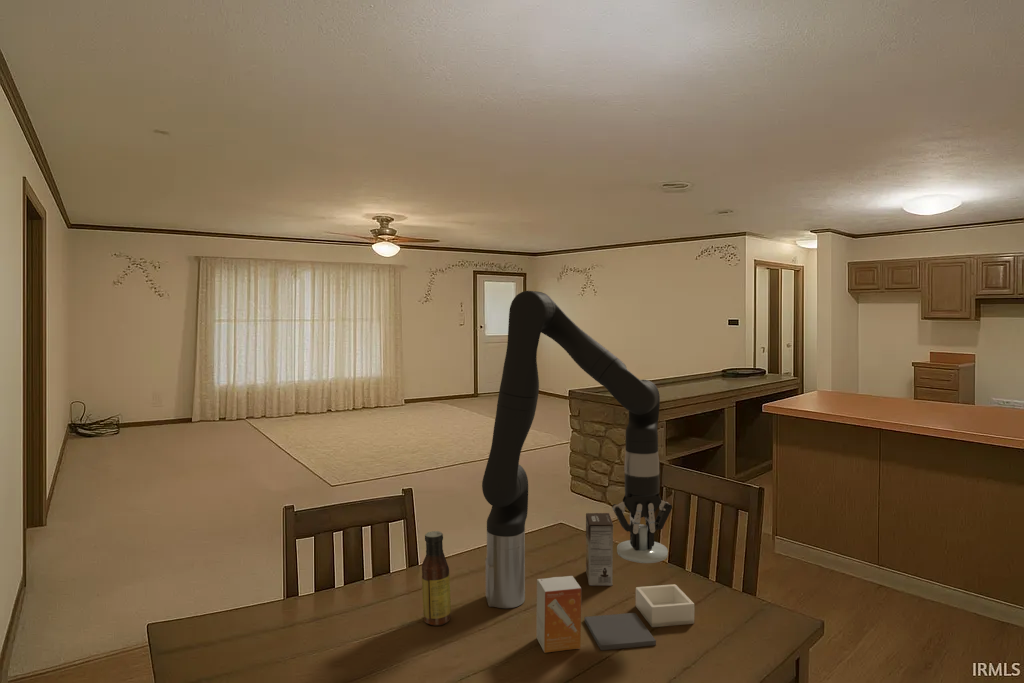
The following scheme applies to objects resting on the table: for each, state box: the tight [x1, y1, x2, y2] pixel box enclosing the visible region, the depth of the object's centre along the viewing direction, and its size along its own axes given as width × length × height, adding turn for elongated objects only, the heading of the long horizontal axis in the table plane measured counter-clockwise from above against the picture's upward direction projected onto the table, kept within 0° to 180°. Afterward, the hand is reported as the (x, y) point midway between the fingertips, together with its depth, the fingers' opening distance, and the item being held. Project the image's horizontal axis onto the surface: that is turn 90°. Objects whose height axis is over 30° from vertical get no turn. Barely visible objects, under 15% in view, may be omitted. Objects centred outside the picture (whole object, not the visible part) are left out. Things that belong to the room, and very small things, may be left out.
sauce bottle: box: [421, 530, 452, 626], centre depth 136 cm, size 7×6×20 cm
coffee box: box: [585, 512, 614, 586], centre depth 158 cm, size 9×6×16 cm
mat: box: [584, 612, 657, 651], centre depth 131 cm, size 12×12×1 cm
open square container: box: [635, 584, 695, 628], centre depth 139 cm, size 10×10×4 cm
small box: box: [536, 575, 582, 654], centre depth 127 cm, size 8×6×13 cm
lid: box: [616, 523, 669, 564], centre depth 133 cm, size 11×11×6 cm
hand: (642, 548), depth 134 cm, fingers closed on lid, 2 cm apart
